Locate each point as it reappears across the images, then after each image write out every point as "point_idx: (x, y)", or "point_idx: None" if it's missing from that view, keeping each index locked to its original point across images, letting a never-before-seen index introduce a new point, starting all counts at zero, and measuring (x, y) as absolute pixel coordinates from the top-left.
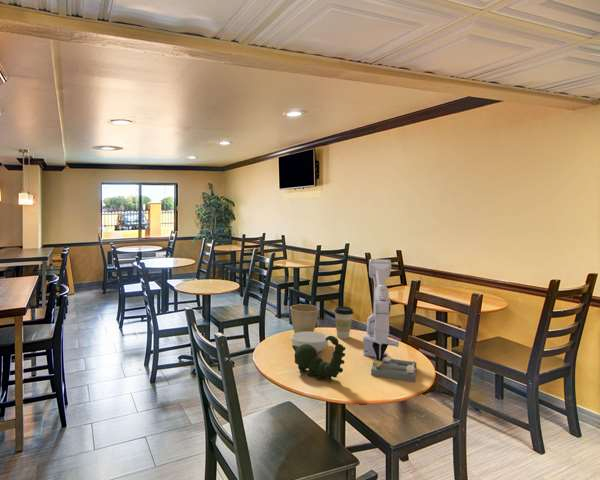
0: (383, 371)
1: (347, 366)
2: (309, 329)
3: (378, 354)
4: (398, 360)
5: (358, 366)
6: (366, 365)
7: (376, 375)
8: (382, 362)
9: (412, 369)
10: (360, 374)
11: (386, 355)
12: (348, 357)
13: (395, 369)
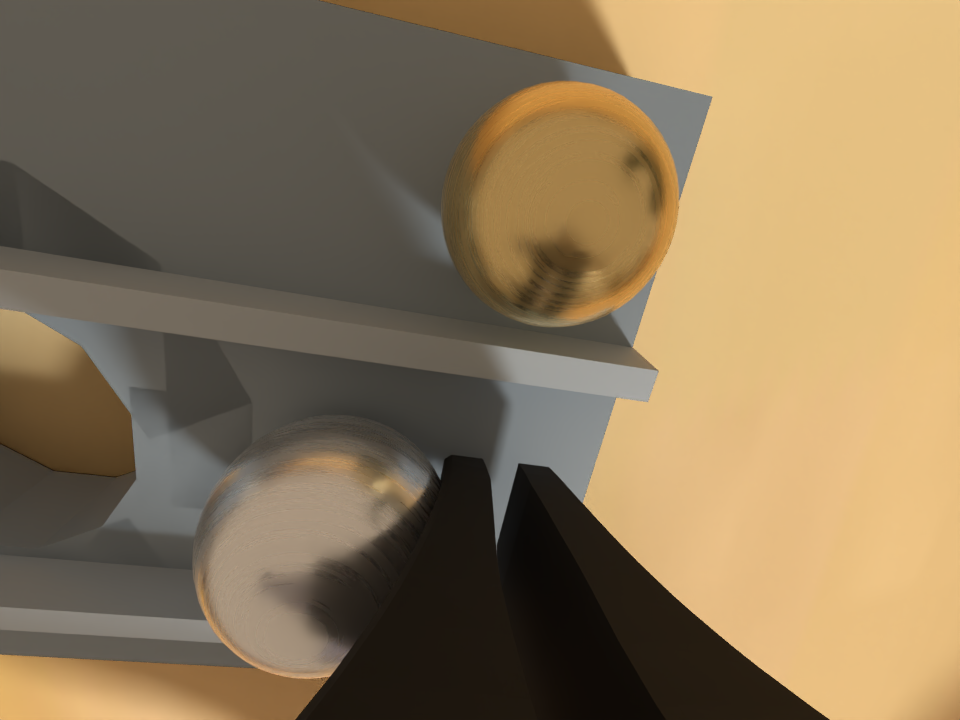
0: (414, 30)
1: (944, 393)
2: None
3: (553, 613)
4: (80, 606)
5: (780, 431)
6: (654, 491)
7: None
8: None
9: None
10: (835, 106)
11: (302, 603)
12: (834, 655)
13: (113, 204)
